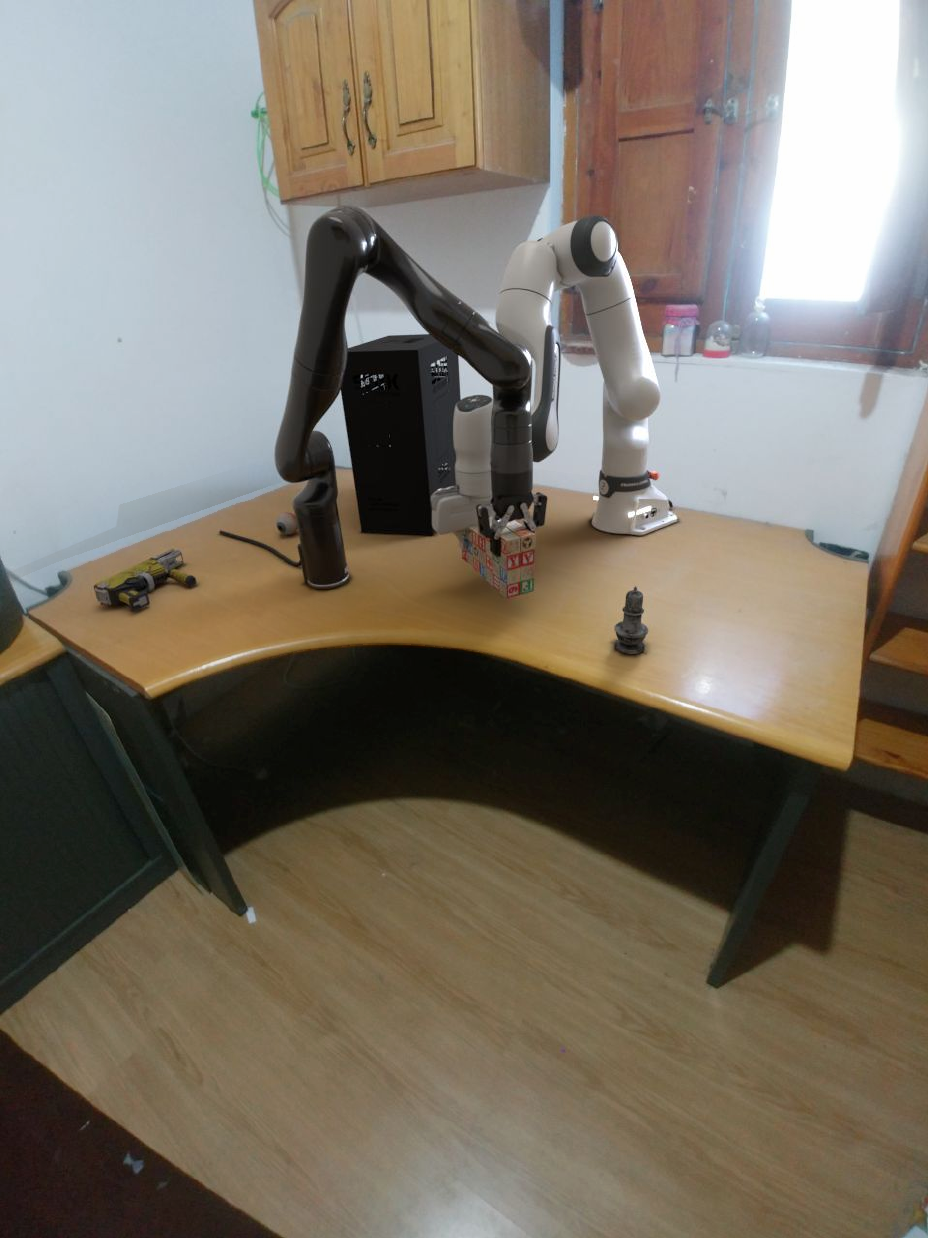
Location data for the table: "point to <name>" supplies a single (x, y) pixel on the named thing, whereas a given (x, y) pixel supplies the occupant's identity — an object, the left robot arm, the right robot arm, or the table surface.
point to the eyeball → (286, 523)
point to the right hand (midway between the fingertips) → (479, 544)
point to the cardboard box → (400, 429)
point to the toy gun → (141, 581)
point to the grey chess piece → (631, 625)
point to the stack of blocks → (503, 558)
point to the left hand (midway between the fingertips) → (512, 551)
